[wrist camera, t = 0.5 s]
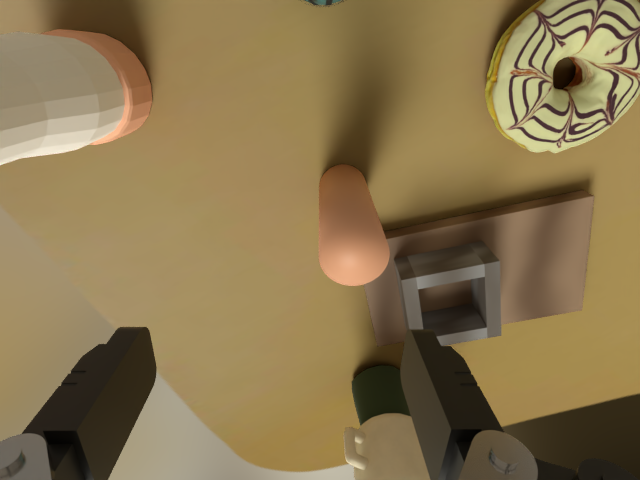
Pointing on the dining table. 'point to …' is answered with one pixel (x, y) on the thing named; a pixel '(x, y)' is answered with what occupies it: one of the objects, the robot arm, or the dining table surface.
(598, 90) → the decorated donut
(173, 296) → the dining table surface
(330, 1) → the beverage bottle
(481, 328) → the holder
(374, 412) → the character mug
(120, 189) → the dining table surface
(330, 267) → the peg
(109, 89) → the pepper shaker
